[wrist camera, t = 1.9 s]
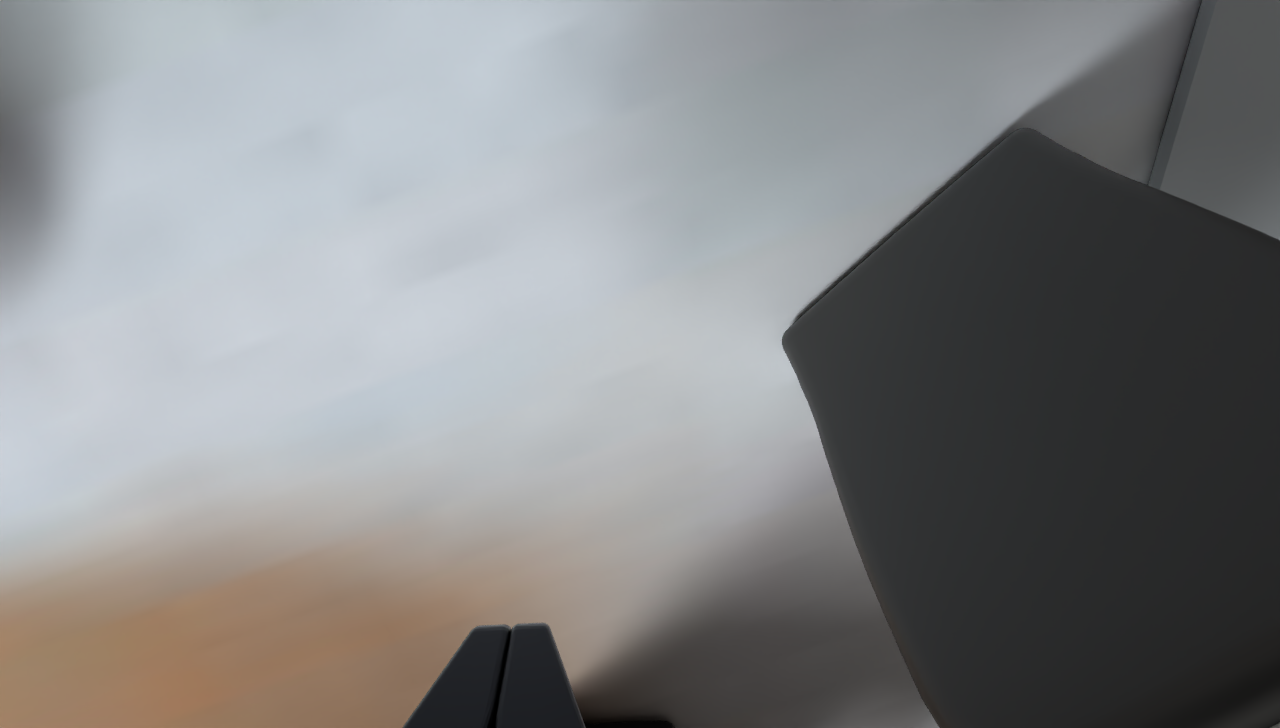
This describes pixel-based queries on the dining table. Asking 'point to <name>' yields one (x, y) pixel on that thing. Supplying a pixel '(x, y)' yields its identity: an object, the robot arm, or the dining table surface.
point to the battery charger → (1062, 447)
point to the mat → (1227, 116)
